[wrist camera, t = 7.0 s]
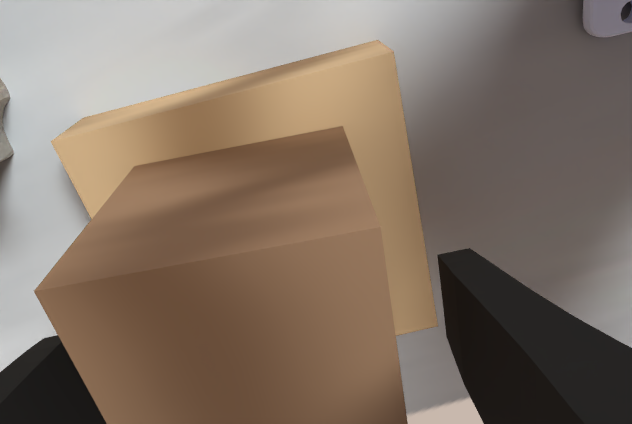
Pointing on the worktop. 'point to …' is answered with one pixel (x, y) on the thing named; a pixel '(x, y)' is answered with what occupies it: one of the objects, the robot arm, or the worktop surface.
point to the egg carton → (3, 149)
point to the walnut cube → (234, 291)
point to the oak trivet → (271, 123)
